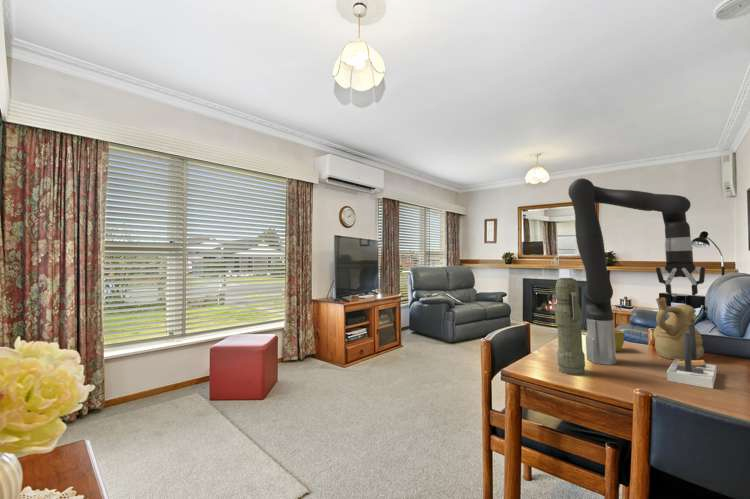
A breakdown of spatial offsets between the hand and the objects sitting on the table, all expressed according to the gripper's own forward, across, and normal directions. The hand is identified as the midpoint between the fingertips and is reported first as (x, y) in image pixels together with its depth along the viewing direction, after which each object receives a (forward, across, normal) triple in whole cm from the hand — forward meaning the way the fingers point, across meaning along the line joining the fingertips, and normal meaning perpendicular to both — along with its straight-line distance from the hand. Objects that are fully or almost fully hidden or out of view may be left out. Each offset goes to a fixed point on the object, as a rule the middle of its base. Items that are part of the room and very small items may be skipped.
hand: (681, 294), depth 125 cm
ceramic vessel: (+28, -5, +18) cm, 34 cm away
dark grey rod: (+24, +2, 0) cm, 25 cm away
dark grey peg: (+25, +2, -17) cm, 30 cm away
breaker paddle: (+23, +2, -9) cm, 25 cm away
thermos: (+28, -30, -29) cm, 50 cm away
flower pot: (+28, -27, +14) cm, 41 cm away
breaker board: (+28, +2, -9) cm, 29 cm away
